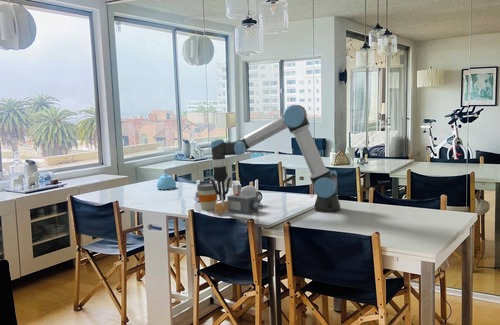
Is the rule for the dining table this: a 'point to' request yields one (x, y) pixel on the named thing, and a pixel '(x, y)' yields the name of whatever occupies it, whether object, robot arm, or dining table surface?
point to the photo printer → (248, 190)
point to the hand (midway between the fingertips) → (223, 205)
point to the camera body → (243, 203)
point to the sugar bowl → (166, 182)
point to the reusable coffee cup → (207, 196)
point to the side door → (219, 206)
